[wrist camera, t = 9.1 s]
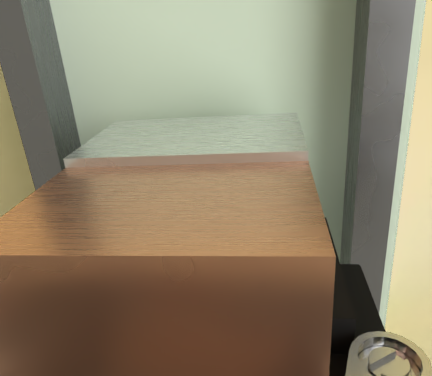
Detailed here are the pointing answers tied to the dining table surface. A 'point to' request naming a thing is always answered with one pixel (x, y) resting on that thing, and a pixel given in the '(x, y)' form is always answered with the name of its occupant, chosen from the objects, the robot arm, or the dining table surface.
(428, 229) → the dining table surface
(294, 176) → the block
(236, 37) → the stand
